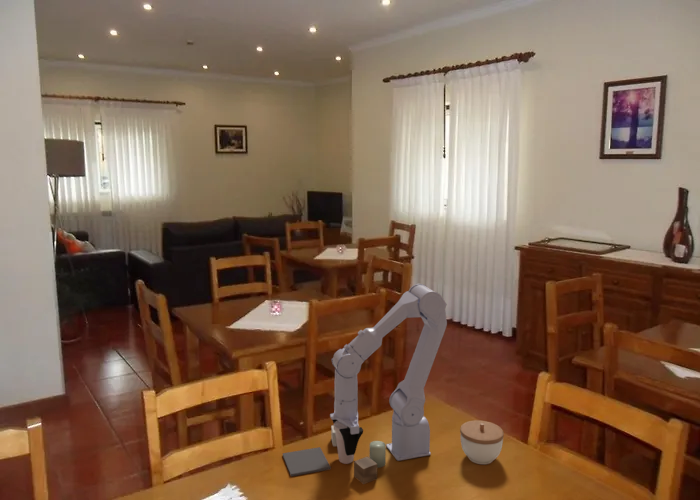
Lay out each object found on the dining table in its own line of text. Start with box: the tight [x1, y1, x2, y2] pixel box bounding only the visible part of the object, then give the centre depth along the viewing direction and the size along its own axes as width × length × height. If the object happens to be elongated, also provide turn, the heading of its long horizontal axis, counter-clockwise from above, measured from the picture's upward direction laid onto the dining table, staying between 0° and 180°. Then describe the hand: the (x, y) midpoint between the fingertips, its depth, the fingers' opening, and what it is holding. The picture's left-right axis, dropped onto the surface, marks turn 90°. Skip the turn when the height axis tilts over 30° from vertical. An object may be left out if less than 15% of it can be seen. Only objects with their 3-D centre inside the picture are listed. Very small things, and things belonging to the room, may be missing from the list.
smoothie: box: [333, 421, 360, 465], centre depth 141 cm, size 6×6×14 cm
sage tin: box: [369, 440, 387, 469], centre depth 140 cm, size 4×4×5 cm
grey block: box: [330, 425, 337, 447], centre depth 151 cm, size 4×4×4 cm
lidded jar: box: [459, 419, 505, 465], centre depth 142 cm, size 11×11×9 cm
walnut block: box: [353, 456, 378, 485], centre depth 134 cm, size 4×4×4 cm
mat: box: [282, 446, 332, 477], centre depth 141 cm, size 10×10×1 cm
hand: (346, 447), depth 142 cm, fingers open, 6 cm apart
